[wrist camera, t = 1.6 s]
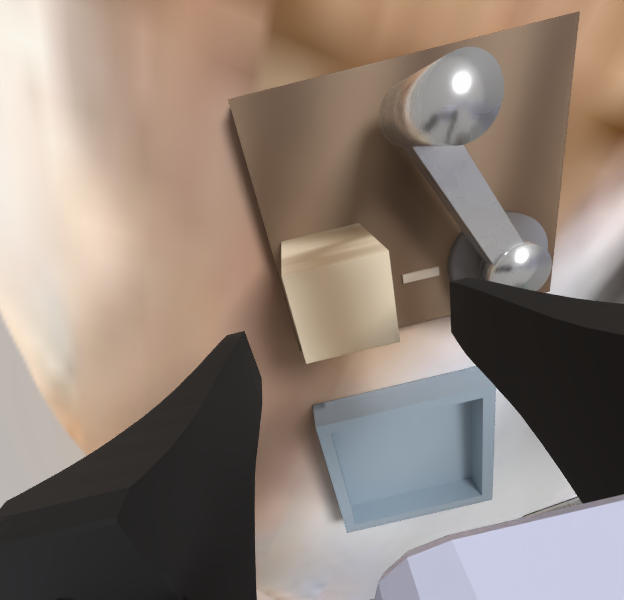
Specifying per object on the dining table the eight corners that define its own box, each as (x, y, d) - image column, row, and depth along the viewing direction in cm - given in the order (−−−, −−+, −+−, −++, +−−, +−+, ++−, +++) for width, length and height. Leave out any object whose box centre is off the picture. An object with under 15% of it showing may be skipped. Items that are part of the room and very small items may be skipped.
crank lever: (541, 264, 17) (627, 302, 13) (495, 299, 17) (562, 346, 13) (417, 61, 13) (484, 16, 8) (361, 116, 13) (399, 101, 9)
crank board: (560, 20, 14) (596, 3, 13) (537, 284, 20) (560, 296, 18) (231, 102, 14) (225, 96, 13) (299, 341, 20) (300, 358, 18)
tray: (478, 366, 22) (495, 385, 20) (477, 476, 27) (492, 499, 25) (312, 405, 22) (315, 427, 20) (342, 507, 27) (347, 532, 25)
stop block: (358, 222, 16) (388, 250, 12) (369, 293, 18) (400, 341, 13) (281, 241, 16) (281, 276, 12) (299, 310, 18) (306, 363, 13)
